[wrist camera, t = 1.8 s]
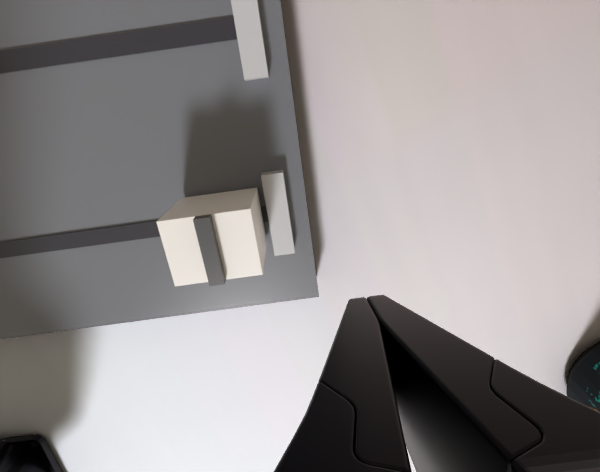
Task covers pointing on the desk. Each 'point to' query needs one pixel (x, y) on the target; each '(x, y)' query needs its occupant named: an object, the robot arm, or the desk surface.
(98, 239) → the console
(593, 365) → the beverage can
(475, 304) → the desk surface
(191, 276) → the white fader
